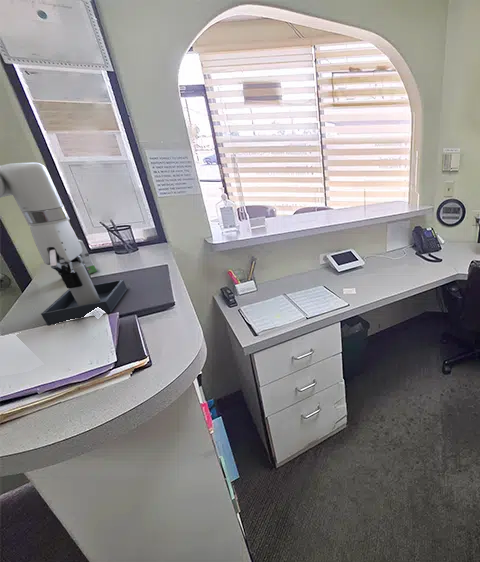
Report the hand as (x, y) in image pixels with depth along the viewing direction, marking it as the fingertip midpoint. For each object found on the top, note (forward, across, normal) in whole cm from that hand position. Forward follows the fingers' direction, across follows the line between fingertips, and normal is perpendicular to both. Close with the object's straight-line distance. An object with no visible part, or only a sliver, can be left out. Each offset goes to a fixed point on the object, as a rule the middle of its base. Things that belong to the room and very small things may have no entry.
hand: (79, 282), depth 84 cm
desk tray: (+7, 0, 0) cm, 7 cm away
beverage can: (+7, 0, 0) cm, 7 cm away
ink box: (+7, -33, -13) cm, 36 cm away
